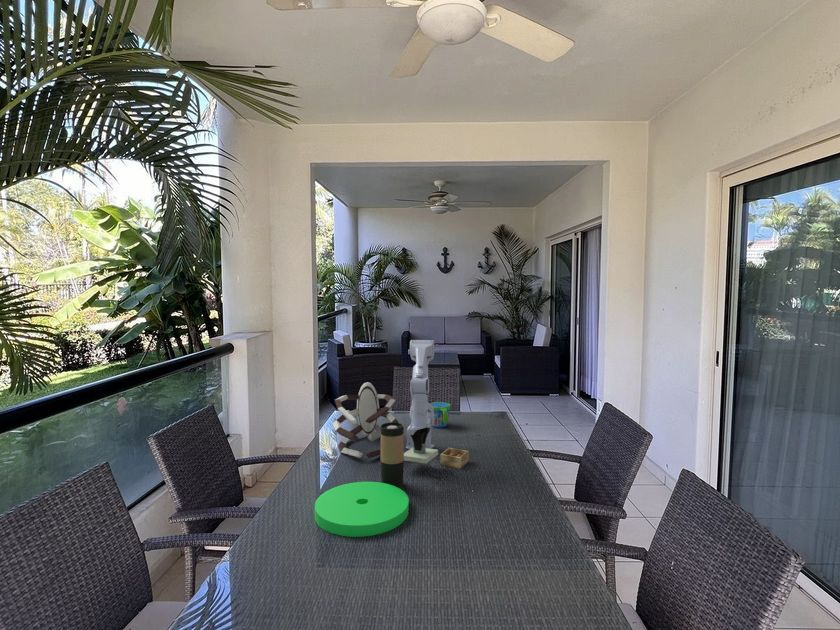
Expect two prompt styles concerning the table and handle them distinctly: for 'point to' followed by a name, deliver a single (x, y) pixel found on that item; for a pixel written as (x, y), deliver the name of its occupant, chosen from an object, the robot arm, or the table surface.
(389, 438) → the travel mug
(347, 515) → the disc
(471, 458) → the table surface
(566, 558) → the table surface
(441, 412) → the snack cup
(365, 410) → the decorative sculpture
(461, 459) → the box
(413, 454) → the lid
